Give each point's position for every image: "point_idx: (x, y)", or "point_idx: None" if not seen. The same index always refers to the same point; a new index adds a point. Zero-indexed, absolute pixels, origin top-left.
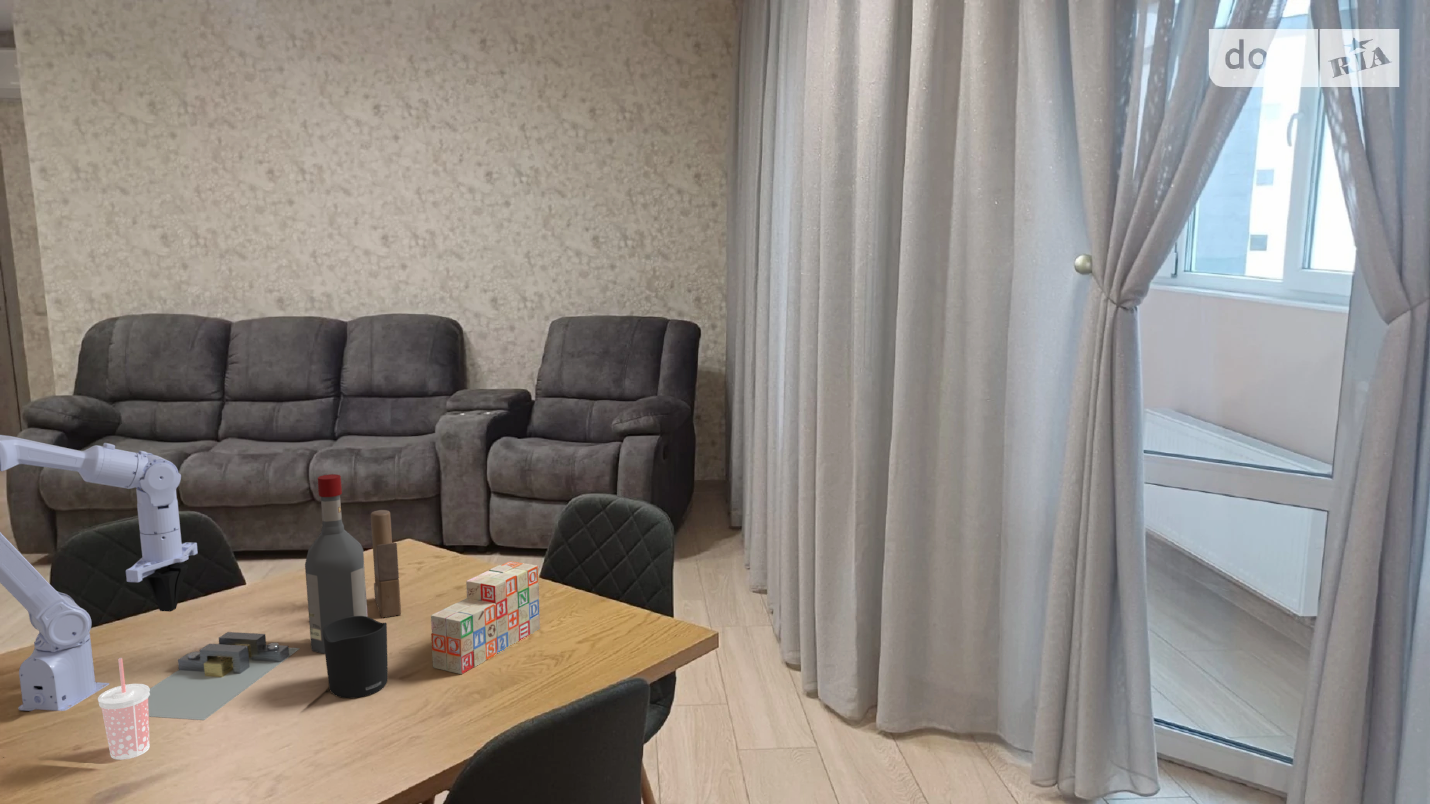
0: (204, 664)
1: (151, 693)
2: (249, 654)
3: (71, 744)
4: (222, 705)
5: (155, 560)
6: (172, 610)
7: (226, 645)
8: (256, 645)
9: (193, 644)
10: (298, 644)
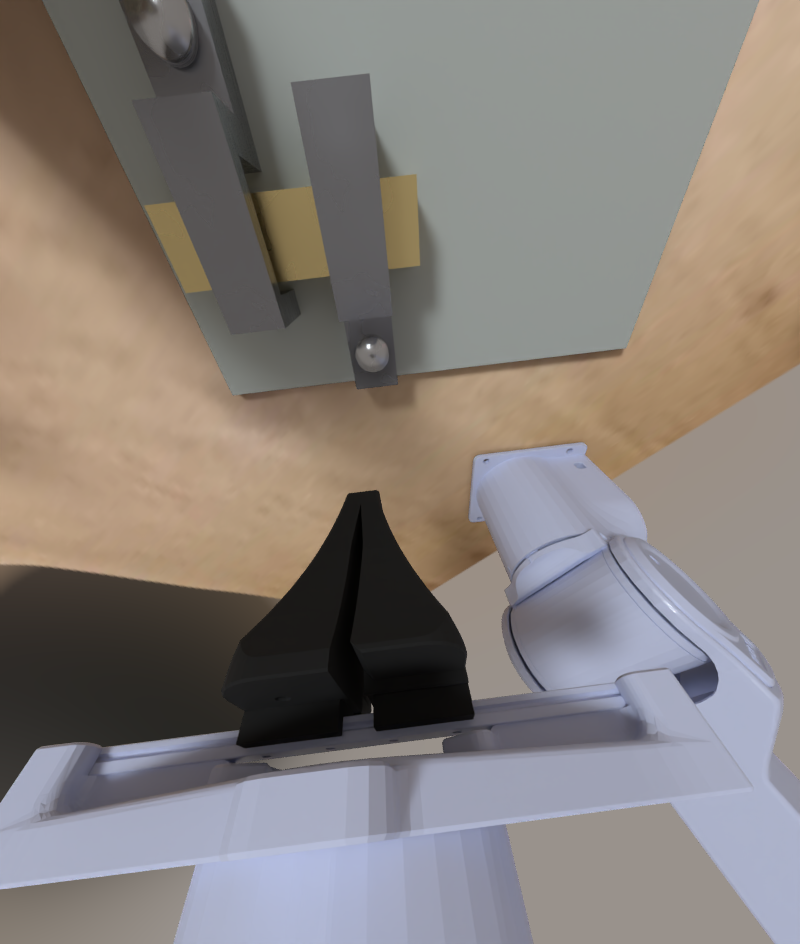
0: (418, 263)
1: (525, 337)
2: None
3: (736, 328)
4: None
5: (506, 837)
6: (369, 491)
7: (328, 227)
8: (225, 109)
9: (259, 456)
10: (11, 80)
